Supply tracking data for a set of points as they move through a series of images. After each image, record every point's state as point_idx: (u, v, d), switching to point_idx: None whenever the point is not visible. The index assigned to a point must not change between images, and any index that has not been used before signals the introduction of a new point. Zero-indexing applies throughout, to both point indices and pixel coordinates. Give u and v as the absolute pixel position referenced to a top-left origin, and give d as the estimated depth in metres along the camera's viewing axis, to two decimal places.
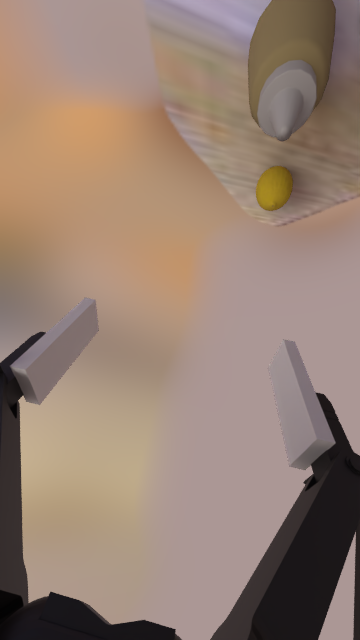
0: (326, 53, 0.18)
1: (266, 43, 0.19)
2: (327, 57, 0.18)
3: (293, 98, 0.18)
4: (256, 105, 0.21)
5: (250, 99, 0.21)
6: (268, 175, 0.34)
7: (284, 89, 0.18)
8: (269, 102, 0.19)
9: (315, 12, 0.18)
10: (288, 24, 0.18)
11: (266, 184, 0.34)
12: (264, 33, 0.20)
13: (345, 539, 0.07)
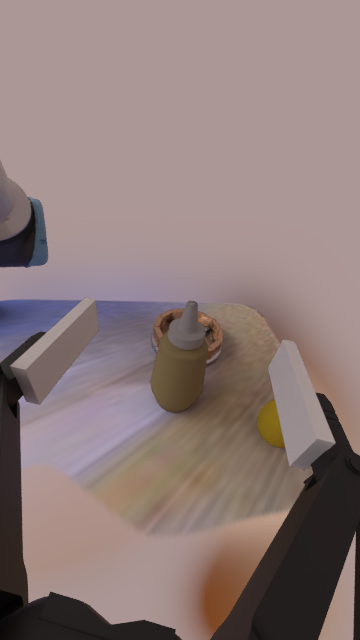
0: None
1: (158, 356, 0.29)
2: None
3: None
4: (180, 353, 0.27)
5: (175, 358, 0.27)
6: (261, 419, 0.30)
7: (177, 324, 0.27)
8: (179, 331, 0.26)
9: None
10: None
11: (267, 417, 0.29)
12: (155, 368, 0.30)
13: (345, 539, 0.07)
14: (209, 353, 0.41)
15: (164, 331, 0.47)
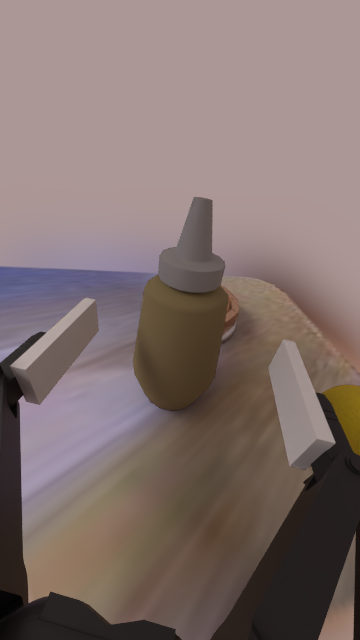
0: None
1: (142, 312, 0.17)
2: None
3: None
4: (180, 300, 0.15)
5: (170, 308, 0.14)
6: None
7: (174, 250, 0.15)
8: (178, 259, 0.14)
9: None
10: None
11: None
12: (139, 335, 0.18)
13: (345, 539, 0.07)
14: None
15: None
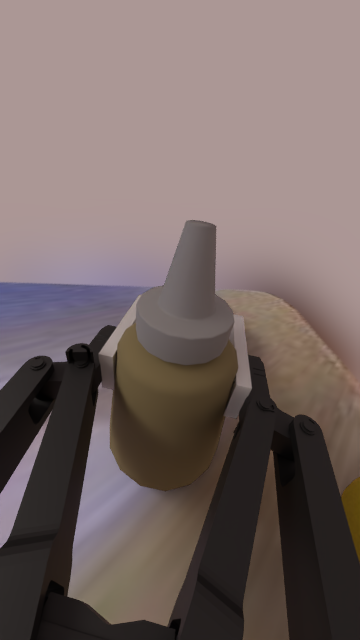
0: None
1: (115, 377, 0.12)
2: None
3: None
4: (166, 376, 0.10)
5: (151, 390, 0.09)
6: None
7: (159, 296, 0.10)
8: (162, 314, 0.09)
9: None
10: None
11: None
12: (113, 404, 0.13)
13: (262, 466, 0.08)
14: None
15: None
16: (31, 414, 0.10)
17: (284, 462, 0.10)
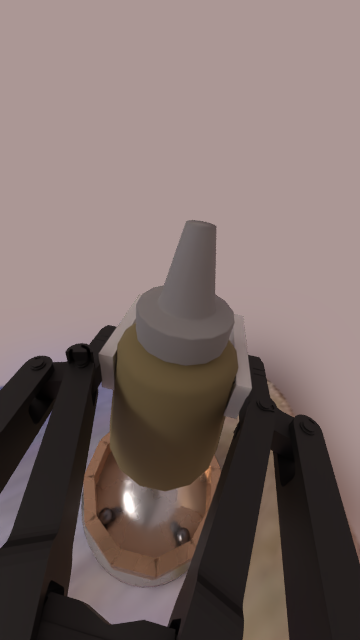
0: None
1: (115, 377, 0.12)
2: None
3: None
4: (166, 376, 0.10)
5: (151, 390, 0.09)
6: None
7: (159, 296, 0.10)
8: (162, 314, 0.09)
9: None
10: None
11: None
12: (113, 404, 0.13)
13: (262, 466, 0.08)
14: (191, 558, 0.19)
15: (111, 468, 0.25)
16: (31, 414, 0.10)
17: (284, 461, 0.10)
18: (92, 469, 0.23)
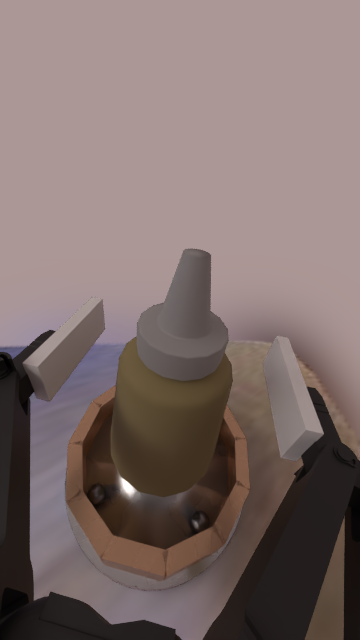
0: None
1: (116, 389, 0.13)
2: None
3: None
4: (164, 391, 0.10)
5: (150, 404, 0.10)
6: None
7: (158, 315, 0.11)
8: (161, 333, 0.10)
9: None
10: None
11: None
12: (114, 414, 0.14)
13: (334, 527, 0.07)
14: (215, 551, 0.14)
15: (106, 437, 0.20)
16: None
17: (359, 515, 0.09)
18: (80, 434, 0.17)
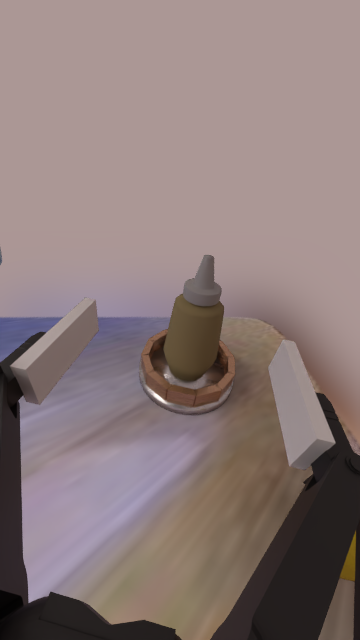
0: None
1: (172, 317, 0.29)
2: None
3: None
4: (196, 310, 0.26)
5: (191, 315, 0.26)
6: None
7: (192, 282, 0.27)
8: (195, 287, 0.26)
9: None
10: None
11: None
12: (169, 331, 0.29)
13: (345, 539, 0.07)
14: (217, 394, 0.29)
15: (156, 359, 0.36)
16: None
17: None
18: (146, 351, 0.33)
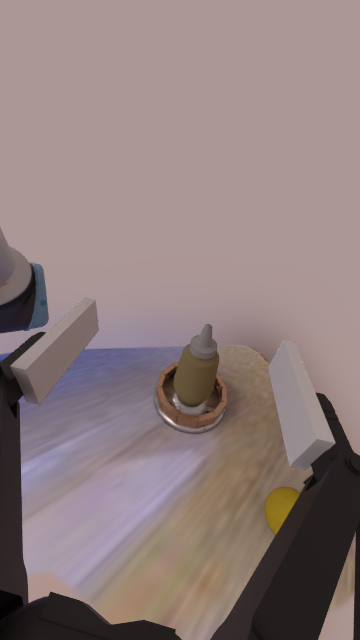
0: None
1: (181, 363, 0.39)
2: None
3: None
4: (199, 362, 0.36)
5: (195, 366, 0.36)
6: (268, 512, 0.29)
7: (196, 340, 0.37)
8: (198, 346, 0.36)
9: None
10: (181, 357, 0.40)
11: (276, 513, 0.28)
12: (179, 372, 0.40)
13: (345, 539, 0.07)
14: (213, 419, 0.40)
15: (167, 388, 0.46)
16: None
17: None
18: (160, 384, 0.44)
